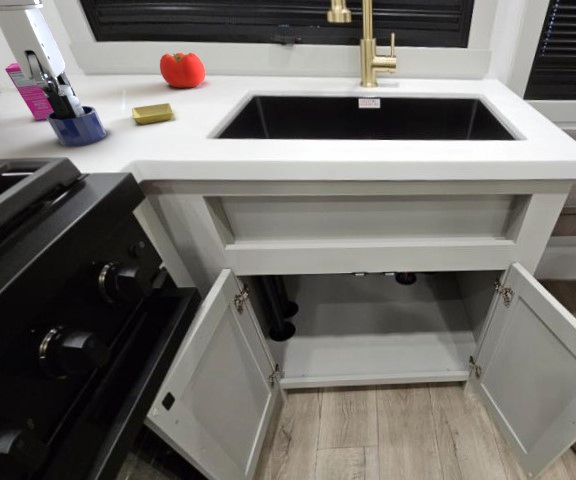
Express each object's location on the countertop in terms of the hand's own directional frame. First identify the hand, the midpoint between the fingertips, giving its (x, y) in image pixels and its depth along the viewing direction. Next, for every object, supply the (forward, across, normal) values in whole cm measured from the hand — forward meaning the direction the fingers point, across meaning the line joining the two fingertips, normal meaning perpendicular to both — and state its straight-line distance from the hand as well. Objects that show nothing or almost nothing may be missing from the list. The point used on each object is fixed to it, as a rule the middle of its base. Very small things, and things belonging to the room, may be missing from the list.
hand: (69, 112), depth 65 cm
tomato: (+6, -36, +23) cm, 43 cm away
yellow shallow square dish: (+6, -8, +14) cm, 17 cm away
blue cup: (+5, 0, 0) cm, 5 cm away
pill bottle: (+4, 0, 0) cm, 4 cm away
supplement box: (+6, -19, -10) cm, 22 cm away
